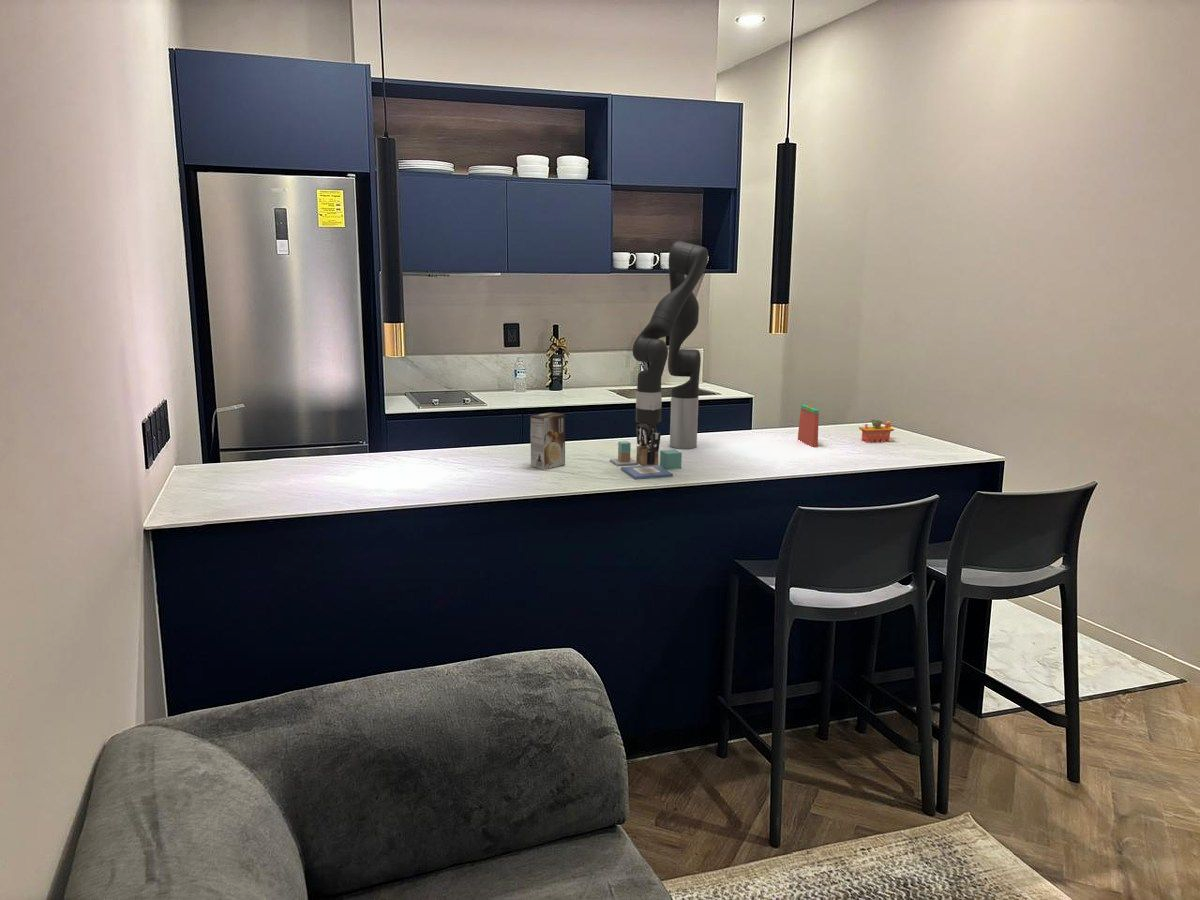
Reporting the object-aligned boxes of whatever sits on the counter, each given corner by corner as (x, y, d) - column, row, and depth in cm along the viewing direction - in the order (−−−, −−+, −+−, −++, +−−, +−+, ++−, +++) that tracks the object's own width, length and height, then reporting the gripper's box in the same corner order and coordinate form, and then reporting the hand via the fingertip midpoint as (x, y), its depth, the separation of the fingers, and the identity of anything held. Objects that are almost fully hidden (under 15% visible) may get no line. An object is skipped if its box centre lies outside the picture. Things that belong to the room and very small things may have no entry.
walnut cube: (636, 462, 263) (636, 446, 262) (651, 461, 264) (652, 445, 263) (642, 466, 258) (642, 449, 257) (658, 464, 260) (658, 448, 259)
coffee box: (551, 461, 275) (551, 411, 271) (565, 465, 270) (565, 414, 267) (529, 466, 268) (529, 415, 264) (544, 470, 264) (544, 418, 260)
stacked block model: (609, 461, 276) (610, 440, 275) (630, 459, 278) (630, 439, 277) (617, 466, 270) (617, 445, 268) (638, 464, 272) (638, 444, 271)
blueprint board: (620, 469, 266) (621, 466, 265) (657, 467, 269) (657, 464, 269) (635, 479, 254) (635, 476, 254) (672, 476, 258) (673, 473, 258)
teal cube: (659, 466, 271) (660, 450, 270) (674, 464, 273) (675, 449, 272) (666, 469, 267) (666, 453, 266) (681, 468, 268) (681, 452, 267)
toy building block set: (797, 440, 312) (799, 401, 308) (886, 437, 318) (890, 399, 315) (812, 448, 300) (815, 407, 297) (905, 444, 307) (908, 405, 303)
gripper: (628, 402, 263) (627, 457, 266) (646, 410, 250) (644, 468, 253) (651, 401, 265) (649, 456, 269) (670, 409, 252) (668, 466, 256)
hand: (647, 462), depth 261 cm, fingers closed on walnut cube, 5 cm apart
